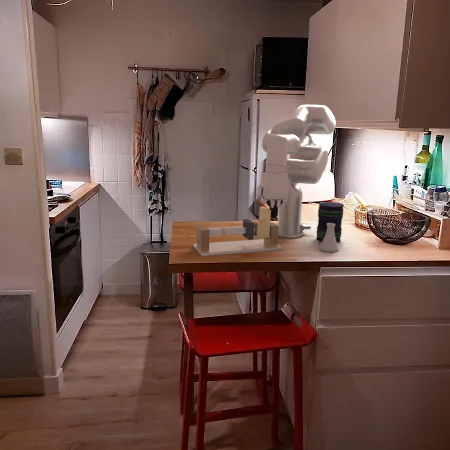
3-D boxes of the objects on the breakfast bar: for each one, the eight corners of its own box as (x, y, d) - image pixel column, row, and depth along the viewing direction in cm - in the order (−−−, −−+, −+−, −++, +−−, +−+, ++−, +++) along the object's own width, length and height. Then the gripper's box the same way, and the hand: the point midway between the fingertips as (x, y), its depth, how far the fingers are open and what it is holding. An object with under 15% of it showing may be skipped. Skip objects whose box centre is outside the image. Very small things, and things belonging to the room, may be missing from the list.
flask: (335, 253, 162) (337, 227, 160) (316, 250, 166) (318, 224, 163) (341, 249, 168) (343, 223, 166) (323, 245, 172) (325, 220, 169)
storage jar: (334, 236, 186) (337, 201, 182) (345, 242, 176) (348, 206, 173) (312, 237, 184) (314, 201, 180) (322, 243, 174) (324, 206, 171)
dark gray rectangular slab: (247, 235, 169) (247, 219, 168) (253, 239, 163) (254, 222, 162) (242, 235, 169) (243, 219, 167) (248, 240, 163) (249, 223, 161)
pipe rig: (269, 241, 176) (270, 220, 174) (282, 249, 165) (283, 227, 163) (193, 246, 166) (193, 224, 164) (201, 256, 155) (202, 232, 153)
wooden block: (263, 233, 171) (264, 206, 169) (269, 237, 166) (270, 209, 163) (251, 234, 170) (252, 207, 167) (257, 238, 164) (258, 210, 161)
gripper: (289, 167, 169) (286, 214, 173) (253, 168, 164) (251, 216, 168) (298, 170, 162) (295, 218, 166) (261, 170, 157) (259, 220, 161)
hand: (273, 217), depth 167 cm, fingers closed
